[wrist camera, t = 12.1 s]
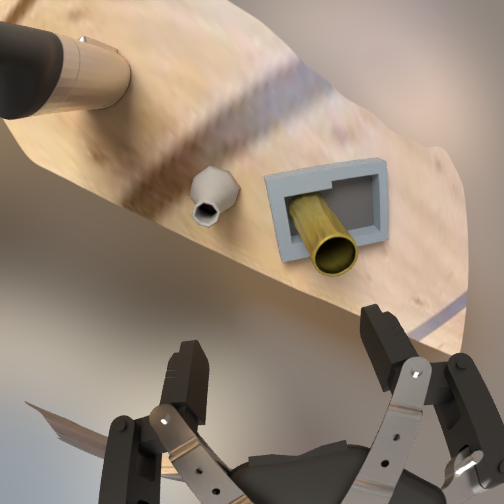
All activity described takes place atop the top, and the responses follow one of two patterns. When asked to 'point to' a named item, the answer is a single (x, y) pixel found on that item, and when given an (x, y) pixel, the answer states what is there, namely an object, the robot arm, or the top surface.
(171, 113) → the top surface
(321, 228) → the vase
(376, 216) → the keyhole board
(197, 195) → the flask
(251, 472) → the robot arm
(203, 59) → the top surface
